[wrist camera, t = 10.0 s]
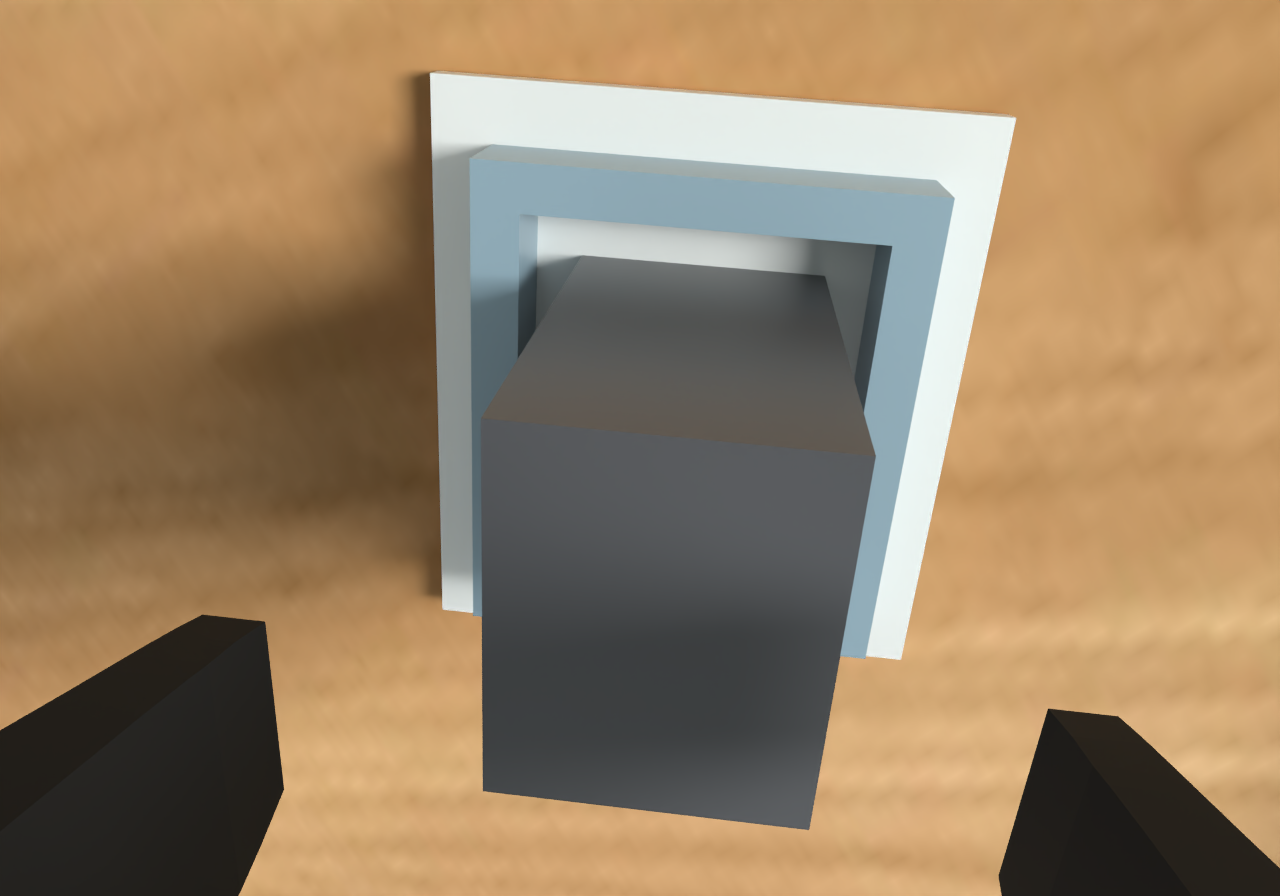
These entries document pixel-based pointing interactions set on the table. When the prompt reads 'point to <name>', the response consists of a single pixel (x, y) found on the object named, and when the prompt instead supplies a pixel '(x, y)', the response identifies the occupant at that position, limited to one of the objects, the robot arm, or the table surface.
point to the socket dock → (717, 264)
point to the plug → (671, 542)
